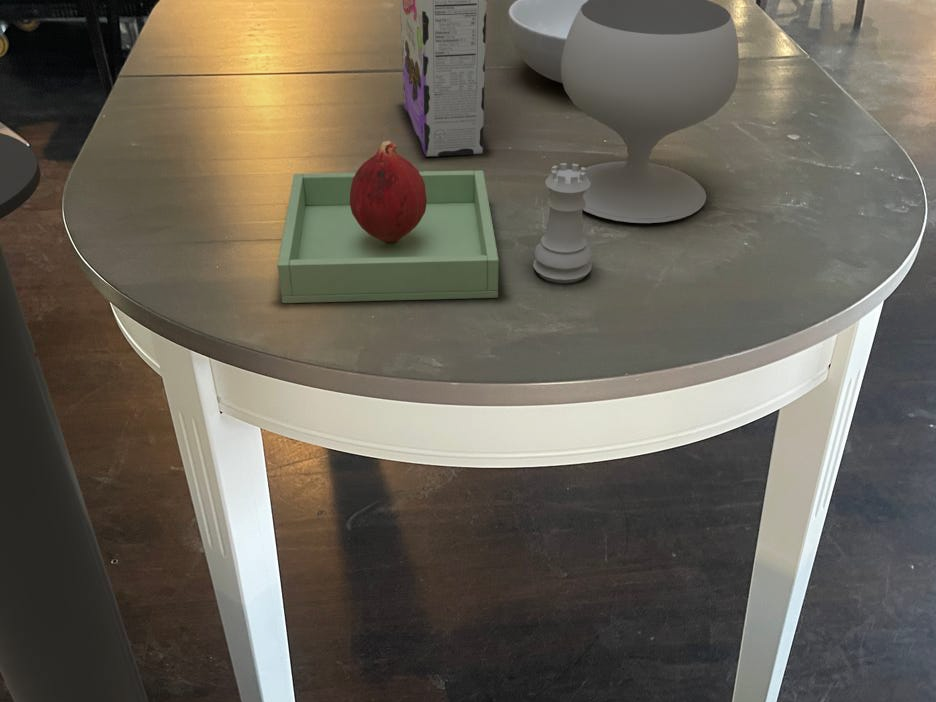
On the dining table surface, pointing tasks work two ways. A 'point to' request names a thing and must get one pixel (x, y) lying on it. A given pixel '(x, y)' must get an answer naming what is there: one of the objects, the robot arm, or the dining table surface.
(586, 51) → the chalice
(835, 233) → the dining table surface
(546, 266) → the rook chess piece
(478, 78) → the candy box
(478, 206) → the tray
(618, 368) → the dining table surface
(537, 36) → the serving bowl
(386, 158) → the onion
